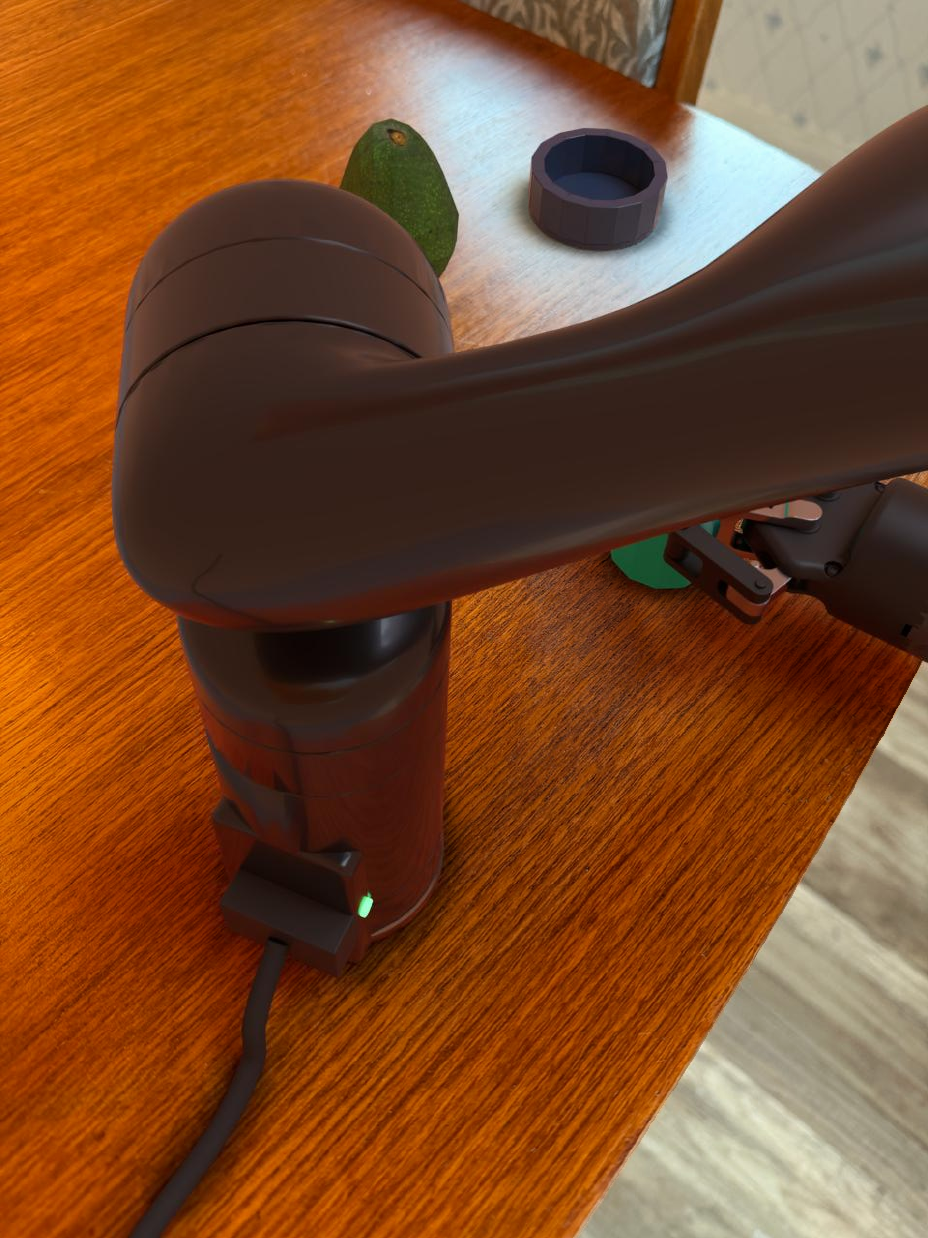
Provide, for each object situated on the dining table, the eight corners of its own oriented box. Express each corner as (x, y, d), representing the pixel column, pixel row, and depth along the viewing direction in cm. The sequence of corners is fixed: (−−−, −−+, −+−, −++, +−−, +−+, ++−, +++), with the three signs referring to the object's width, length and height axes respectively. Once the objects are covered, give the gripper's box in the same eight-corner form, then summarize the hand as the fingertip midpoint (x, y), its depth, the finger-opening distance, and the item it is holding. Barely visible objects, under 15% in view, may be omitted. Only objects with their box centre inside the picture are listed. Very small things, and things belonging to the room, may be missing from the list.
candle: (709, 598, 66) (760, 443, 56) (601, 579, 66) (633, 421, 56) (718, 517, 69) (767, 358, 59) (614, 499, 70) (647, 338, 60)
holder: (634, 265, 82) (642, 221, 80) (508, 228, 84) (511, 184, 82) (675, 191, 88) (684, 148, 85) (555, 158, 90) (559, 115, 87)
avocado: (333, 326, 78) (322, 159, 68) (339, 250, 82) (329, 84, 73) (456, 329, 78) (462, 163, 68) (456, 253, 83) (461, 87, 73)
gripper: (1026, 442, 58) (711, 309, 63) (922, 641, 51) (576, 473, 56) (969, 541, 64) (685, 412, 69) (869, 732, 57) (560, 572, 62)
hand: (638, 440), depth 63 cm, fingers closed on candle, 4 cm apart
